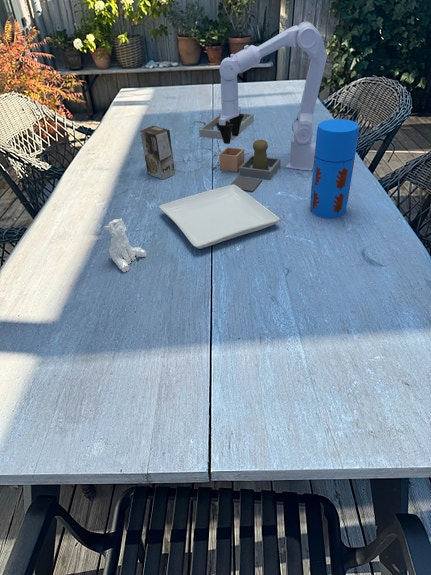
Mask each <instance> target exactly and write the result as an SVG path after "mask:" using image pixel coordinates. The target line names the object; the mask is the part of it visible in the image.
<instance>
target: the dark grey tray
mask: <svg viewBox="0 0 431 575" xmlns="http://www.w3.org/2000/svg"><path fill="white" fill-rule="evenodd" d="M240 114H244V117H243V119H242V122H241V125H240V130H239V134H240V133H242V132H243V131H244V130H245V129H247V127H249V126H250V125H251V124H252V123H253V122H255V121H254V116H255V114H254V113H242V112H241V113H240ZM220 117H221V115H219V114H218V115H216V116H215V117H214V118H212V119H211V120H210V121H208V122H207V123H206V124H204V125H203V126H202V127H200V128H199V129H198V135H199V137H201V138H209V139H210V138H211V139H218V140H219V139H220V140H223V138H222V135H221V133H220V131H219V130H214V129H213V128H215V127H217V125H216V123H217V122H218V121H219V119H220ZM236 137H237V136H232V132H231V141H233V140H234V139H235V138H236Z"/></svg>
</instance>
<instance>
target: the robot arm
mask: <svg viewBox="0 0 431 575" xmlns="http://www.w3.org/2000/svg"><path fill="white" fill-rule="evenodd" d="M296 44H297V45H298V47H299V48H300V49H301V50H303V51H304V52H306V54H307V55H308V57H309V59H310V60H309V64H308V65H309V66H308V70H307V72H306V73H307V74H306V77H305V83H304V88H303V91H302V97H301V102H300V105H299V110H298V112H297V114H296V118H295V119H294V120H293V122H292V124H291V130H292V133H293V136H292V137H291V139H290V151H289V152H290V153H289V161H288V163H287V165H286V166H285V168H286V169H291V170H292V169H293V170H300V171H310V172H311V171H312V172H313V166H314V156H315V146H316V141H313V139H312V138H313V136H314V134H313V130H312V129H313V121H314V113H315V108H316V104H317V102H318V101H317V100H318V96H319V92H320V88H321V85H322V80H323V76H324V71H325V68H326V63H327V60H328V52H327V49H326V46H325V42H324V40H323V36H322V35H321V33H320V32H319V30H318V29H317V28H316V27H315V25H314V24H312V22H310V21H303V22H301V23H298V25H297V24H296V25H293V26H290V27H289V28H287V29H285V30H284V31H281V32H280V33H279V34H276V35H275V36H273V37H272V38H270V39H268V40H267V41H265V42H263V43H262V44H260V45H258V46H257V45H256V46H255V45H253V44H251V45H248V44H246V45H245V46H244V47H243V48H244V49H241V50H239V51H238V52H236V53H235V54H234V53H231V54H230V57H229V56H228V57H225V58H223V59H222V61H221V62H220V66H219V75H220V102H221V111H219V112H218V115H221V117H220V119H219V122H218V123H217V125H216V127H217V130H218V129H219V130H220V133H221V135H222V138H223V139H222V142H223V144H224V145H225V144H226V145H229V144H231V141H232V140H231V132H232V136H236V137H239V134H240V133H239V130H240V125H241V123H242V122H243V121H242V119H243V117H244V114H240V113H242V107H241V106H239V83H238V74H242V73H244V72H246V71H248V70H251V68H253V67H255V66H257V65H259V64H260V62H261V59H262V58H263V57H265V56H268V55H270V54H272V53H274V52H276V51H278V50H279V49H282V48H284V47H289V48H297V46H296ZM228 121H230V124H229V123H228ZM219 130H218V131H219Z"/></svg>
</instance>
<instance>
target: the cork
mask: <svg viewBox="0 0 431 575" xmlns="http://www.w3.org/2000/svg"><path fill="white" fill-rule="evenodd" d="M268 148H269V144H268V142H267V140H264V139H257V140H255V141H254V142H253V143H252V149H253V152H254V153H253V156H254V159H253V164H252V165H251V167H252V168H253V169H261V170H269V166H268V162H267V157H268V154H267V150H268Z"/></svg>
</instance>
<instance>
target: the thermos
mask: <svg viewBox="0 0 431 575" xmlns="http://www.w3.org/2000/svg"><path fill="white" fill-rule="evenodd" d="M359 131H360V125H359V123H357V122H356V121H353V120H350V119H345V118H332V119H326V120H323V121H321V122H319V123H318V124H317V129H316V137H315V142H316V146H315V156H314V166H313V170H312V179H311V188H310V200H309V201H310V204H309V206H310V208H309V210H310V212H311V213H312V214H313V215H315V216H316V217H319V218H323V219H336V218H339V217H342V216H343V215H345V213H346V210H347V208H348V207H347V206H348V201H349V196H350V190H351V184H352V177H353V171H354V164H355V159H356V153H357V146H358V140H359V134H360V132H359Z"/></svg>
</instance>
